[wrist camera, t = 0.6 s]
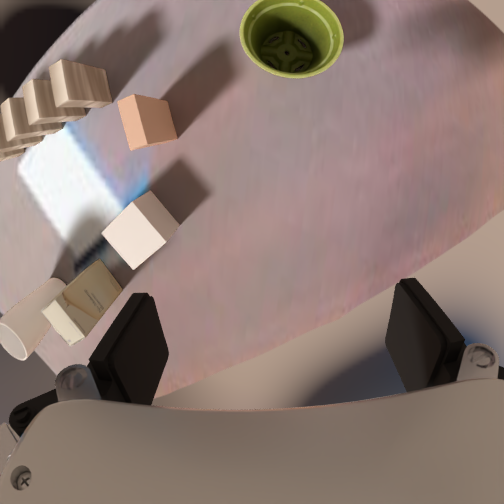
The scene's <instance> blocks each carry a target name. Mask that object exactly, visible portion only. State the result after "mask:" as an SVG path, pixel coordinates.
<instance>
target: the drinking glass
mask: <svg viewBox="0 0 504 504" xmlns="http://www.w3.org/2000/svg"><path fill="white" fill-rule="evenodd" d="M66 286H67V285H66V284H65V283H64V282H63V281H62V280H60V279H58V278H50V279H49V280H47V281H46V282H45V283H44V284H43V285H41V286H40V287H39V288H37V289H36V290H35V291H33V292H32V293H31V294H29V295H28V296H26V297H25V298H24V299H22V300H21V301H20V302H18V303H17V304H16V305H14V306H13V307H12V308H11V309H10V310H9V311H7V312H6V313H5V314H4V315H3V317H2V318H1V319H0V343H1V345H2V346H3V347H4V348H5V350H6V351H7V352H9V354H11V355H12V356H13V357H15V358H16V359H19V360H26V359H27V357H28V356H29V355H30V354H31V353H32V352H33V351H34V350H35V348H36V347H37V346H38V345H39V343H40V342H41V340H42V339H43V337H44V336H45V334H46V333H47V331H48V330H49V328H50V327H51V324H50V323H49V321H48V320H47V319H46V318H45V316H44V315H43V314H42V312H41V310H42V309H43V308H44V307H45V306H46V305H47V304H48V303H49V302H50V301H51V300H52V299H53V298H54V297H55V296H57V295H58V294H59V293H60V292H61V291H62V290H63V289H64V288H65V287H66Z"/></svg>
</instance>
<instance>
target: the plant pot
mask: <svg viewBox="0 0 504 504" xmlns="http://www.w3.org/2000/svg"><path fill="white" fill-rule="evenodd" d="M274 37H279V39H277V40H275V41H273V42H272V43H269V41H270V40H271V39H273V38H274ZM240 40H241V44H242V46H243V49H244V51H245V52H246V54H247V55H248V57H249V58H250V59H251V60H252V61H253V62H254V63H255V64H256V65H258V66H259V67H260V68H262V69H263V70H265V71H267V72H269V73H272V74H274V75H277V76H281V77H286V78H306V77H311V76H314V75H317V74H319V73H321V72H323V71H325V70H326V69H328V68H329V67H330V66H331V65H333V64H334V62H335V61H336V60H337V58H338V57H339V55H340V53H341V51H342V48H343V42H344V35H343V29H342V26H341V23H340V21H339V19H338V17H337V16H336V14H335V13H334V12H333V11H332V10H331V9H330V8H329V7H328V6H327V5H326V4H325V3H323V2H322V1H320V0H258V1H256V2H255V3H254V4H252V5H251V6H250V7H249V9H248V10H247V11H246V13H245V14H244V16H243V18H242V21H241V25H240ZM298 40H301V41H302V42H303V43H304V44H305V45H306V48H304V47H303V46H302V44H301V43H300V42H299V41H298ZM285 51H288V52H289V54H288V55H286V54H285ZM268 60H269V61H270V62H271V63H272V64H273V65H274V66H275V67H276V68H272V67H271V66H270V65H269V64H268V63H267V62H268ZM302 64H304V67H303V68H302V69H300V70H299V71H295V69H296V68H298V67H300V66H301V65H302Z"/></svg>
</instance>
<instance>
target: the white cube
mask: <svg viewBox="0 0 504 504" xmlns="http://www.w3.org/2000/svg"><path fill="white" fill-rule="evenodd" d="M179 226H180V225H179V223H178V222H177V221H176V220H175V219H174V218H173V216H172V215H171V214H170V213H169V212H168V210H167V209H166V208H165V207H164V206H163V205H162V203H161V202H160V201H159V200H158V199H157V197H156V196H155V195H154V194H153V193H152V191H151V190H150V191H148V192H147V193H145V194H144V195H142V196H140V197H139V198H137V199H136V200H134V201H132V202H131V203H130V204H129V205H128V206H127V207H126V208H125V209H124V210H123V211H122V212H121V213H120V214H119V215H118V216H117V217H116V218H115V219H114V220H113V221H112V222H111V223H110V224H109V225H108V227H107V228H106V229H105V230H104V231H103V232H102V235H103V236H104V237H105V238H106V239H107V241H108V242H109V243H110V244H111V245H112V246H113V248H114V249H115V250H116V251H117V252H118V253H119V255H120V256H121V257H122V258H123V259H124V260H125V261H126V262H127V264H128V265H129V266H130V267H131V268H132V269H133V270H134V269H135V268H137V267H138V266H139V265H140V264H141V263H142V262H144V261H145V260H146V259H147V258H148V257H149V256H151V255H152V254H153V253H154V252H155V251H157V250H158V249H159V248H160V247H161V246H163V245H164V244H165V243H166V242H167V241H168V240H169V239H170V237H171V236H172V235H173V233H174V232H175V231H176V230H177V228H178V227H179Z"/></svg>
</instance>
